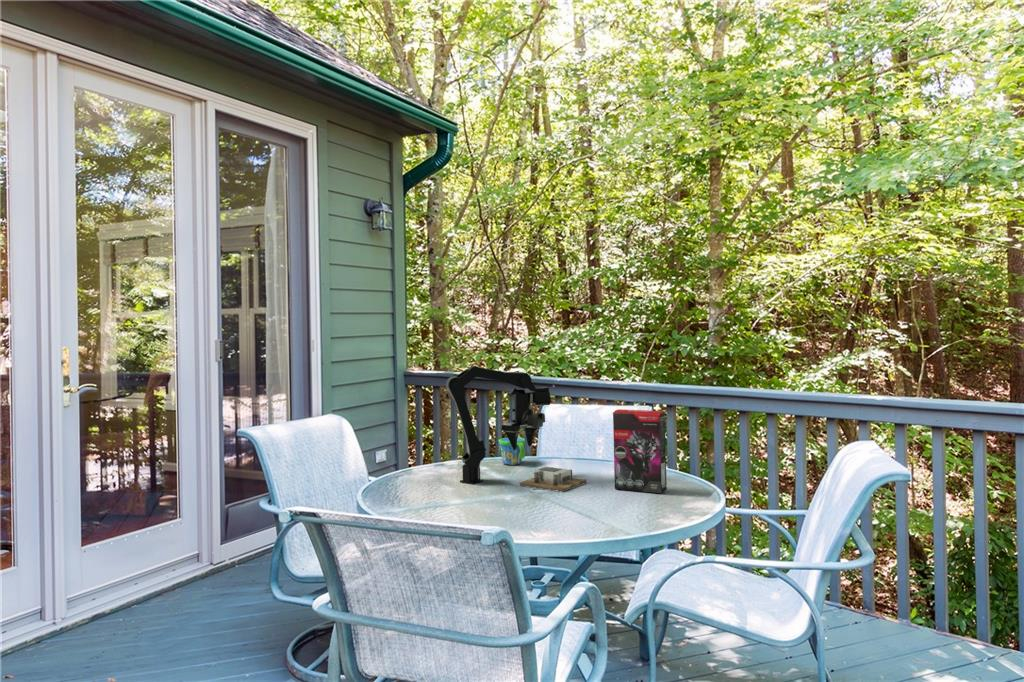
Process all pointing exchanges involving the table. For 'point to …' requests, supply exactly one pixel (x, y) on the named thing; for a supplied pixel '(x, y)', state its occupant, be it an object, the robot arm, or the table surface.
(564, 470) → the drive
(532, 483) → the wooden peg board
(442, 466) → the table surface
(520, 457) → the snack cup
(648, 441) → the graphics card box
